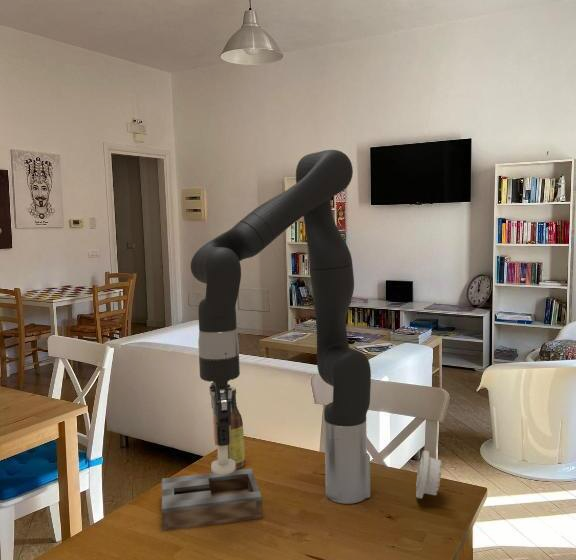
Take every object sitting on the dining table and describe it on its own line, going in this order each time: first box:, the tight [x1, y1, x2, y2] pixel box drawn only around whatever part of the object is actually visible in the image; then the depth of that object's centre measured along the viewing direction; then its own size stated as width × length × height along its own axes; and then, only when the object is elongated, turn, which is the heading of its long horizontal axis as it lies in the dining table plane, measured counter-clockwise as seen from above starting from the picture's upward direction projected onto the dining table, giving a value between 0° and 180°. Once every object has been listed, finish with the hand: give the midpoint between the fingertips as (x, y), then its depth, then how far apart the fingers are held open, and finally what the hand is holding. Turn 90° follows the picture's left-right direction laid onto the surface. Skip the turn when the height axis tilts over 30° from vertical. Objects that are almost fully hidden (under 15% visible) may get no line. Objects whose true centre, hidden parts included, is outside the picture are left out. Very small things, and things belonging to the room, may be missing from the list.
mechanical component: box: [415, 450, 442, 499], centre depth 123 cm, size 10×4×10 cm, turn 168°
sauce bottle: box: [228, 386, 246, 470], centre depth 141 cm, size 7×6×20 cm
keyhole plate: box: [161, 468, 263, 531], centre depth 121 cm, size 20×14×5 cm
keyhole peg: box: [210, 412, 235, 475], centre depth 109 cm, size 5×5×12 cm
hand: (222, 440), depth 109 cm, fingers closed on keyhole peg, 3 cm apart
